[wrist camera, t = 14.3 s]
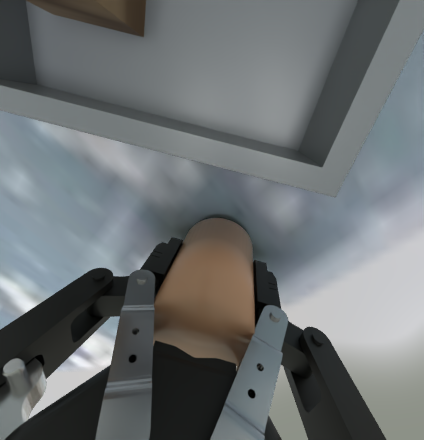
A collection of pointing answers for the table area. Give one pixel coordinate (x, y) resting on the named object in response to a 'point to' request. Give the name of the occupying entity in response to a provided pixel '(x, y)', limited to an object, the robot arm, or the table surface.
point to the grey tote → (218, 79)
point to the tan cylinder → (209, 293)
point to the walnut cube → (101, 13)
